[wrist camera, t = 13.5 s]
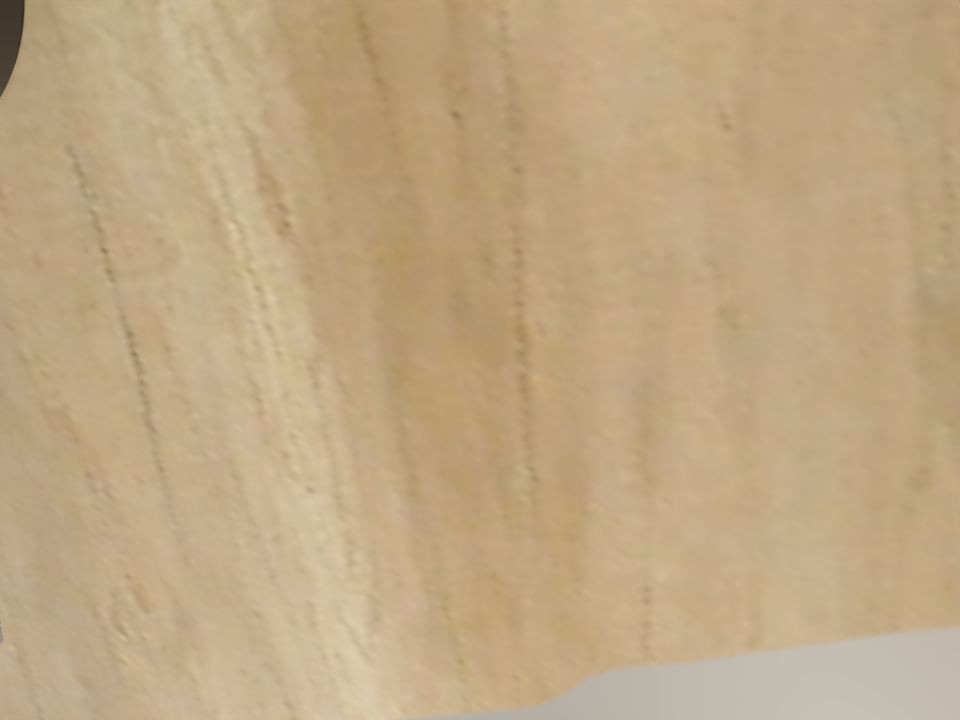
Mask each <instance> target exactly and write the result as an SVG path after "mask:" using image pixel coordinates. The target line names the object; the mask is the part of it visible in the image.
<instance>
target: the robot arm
mask: <svg viewBox="0 0 960 720" xmlns="http://www.w3.org/2000/svg"><path fill="white" fill-rule="evenodd" d="M21 29H22V0H0V97H1V95H2V93H3V91H4V89H5V87H6V85H7V83H8V81H9V78H10V76H11V74H12V71H13V68H14V65H15V61H16V58H17V53H18V49H19V44H20V37H21ZM3 641H4V639H3V633H2V628H1V622H0V644H1V643H2V642H3Z"/></svg>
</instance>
